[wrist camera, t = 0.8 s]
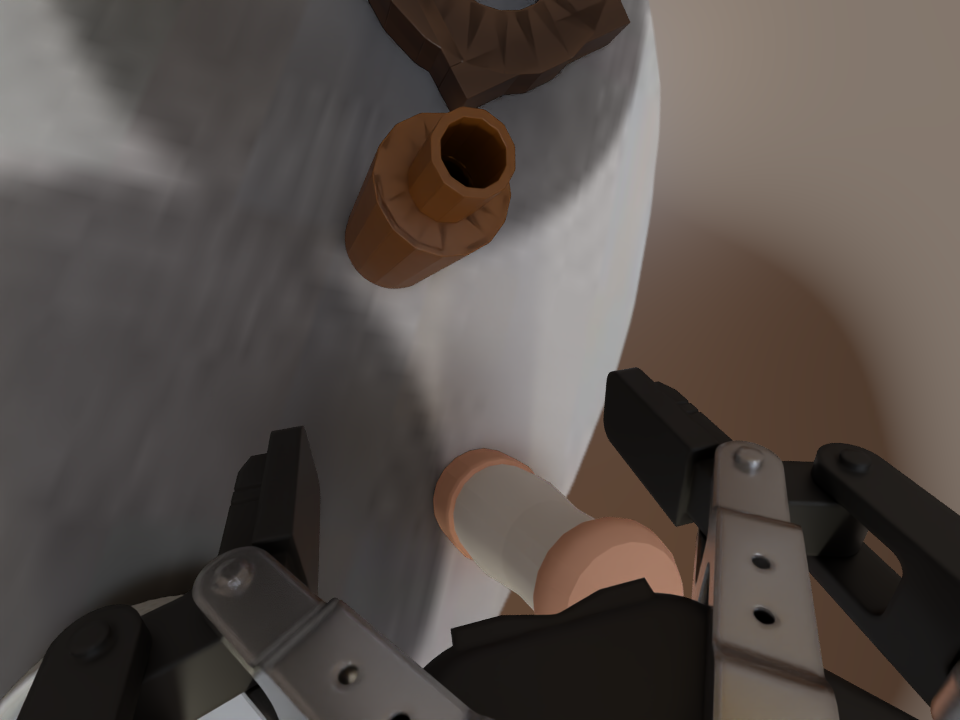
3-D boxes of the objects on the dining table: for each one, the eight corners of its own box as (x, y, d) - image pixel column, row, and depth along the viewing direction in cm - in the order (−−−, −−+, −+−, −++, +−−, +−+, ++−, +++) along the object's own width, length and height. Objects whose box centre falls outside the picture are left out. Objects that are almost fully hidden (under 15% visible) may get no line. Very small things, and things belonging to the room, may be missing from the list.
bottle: (326, 220, 34) (355, 105, 18) (407, 179, 36) (500, 41, 20) (377, 305, 35) (447, 267, 19) (453, 261, 37) (576, 193, 21)
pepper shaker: (446, 561, 37) (590, 761, 19) (422, 466, 36) (547, 580, 18) (534, 525, 39) (737, 673, 21) (513, 435, 39) (704, 509, 21)
